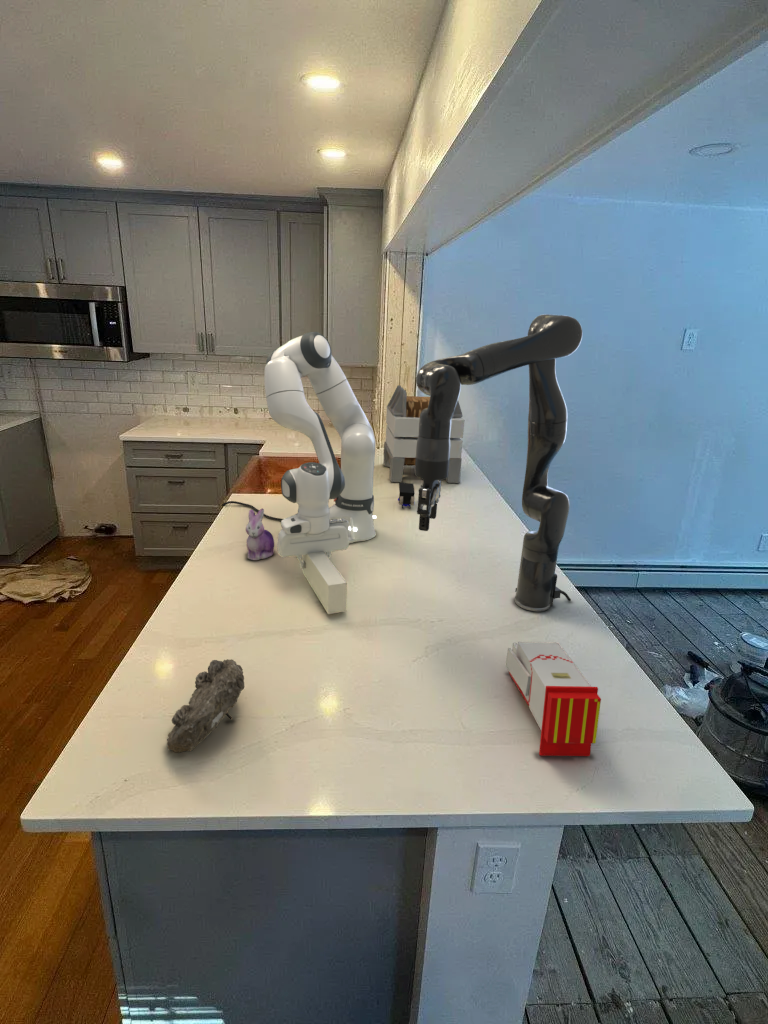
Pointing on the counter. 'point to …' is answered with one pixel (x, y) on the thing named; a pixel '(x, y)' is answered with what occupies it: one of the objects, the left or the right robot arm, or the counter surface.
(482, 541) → the counter surface
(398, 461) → the transformer
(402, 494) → the figurine character
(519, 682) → the toy
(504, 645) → the counter surface
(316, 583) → the bar
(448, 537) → the counter surface
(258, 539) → the figurine
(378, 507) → the counter surface
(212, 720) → the fossil
